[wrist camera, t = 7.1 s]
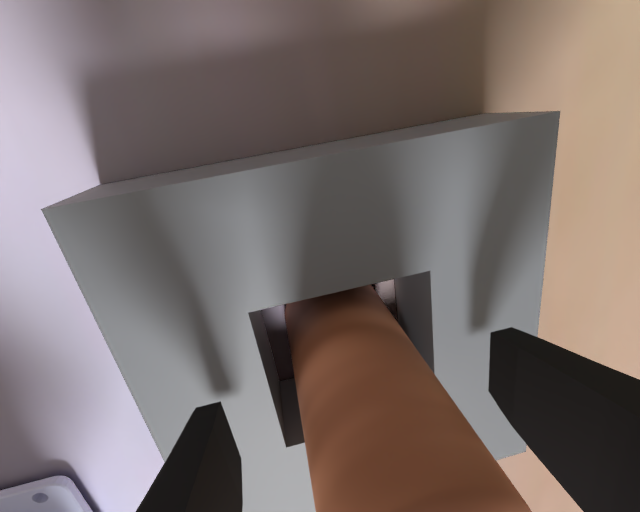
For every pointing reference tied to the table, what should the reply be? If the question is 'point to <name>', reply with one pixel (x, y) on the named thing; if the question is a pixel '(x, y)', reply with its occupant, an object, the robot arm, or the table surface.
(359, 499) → the peg
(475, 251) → the socket block
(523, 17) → the table surface
